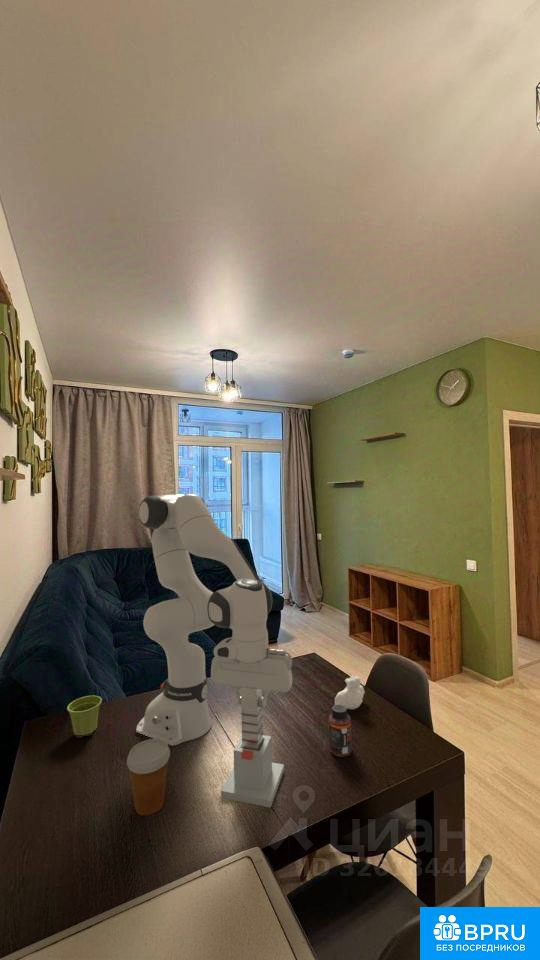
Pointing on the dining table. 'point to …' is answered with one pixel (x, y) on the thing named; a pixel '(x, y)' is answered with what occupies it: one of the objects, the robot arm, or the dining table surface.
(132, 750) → the disposable coffee cup
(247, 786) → the stand base
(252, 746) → the column
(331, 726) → the supplement bottle
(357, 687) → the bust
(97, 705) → the plant pot
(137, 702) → the dining table surface
